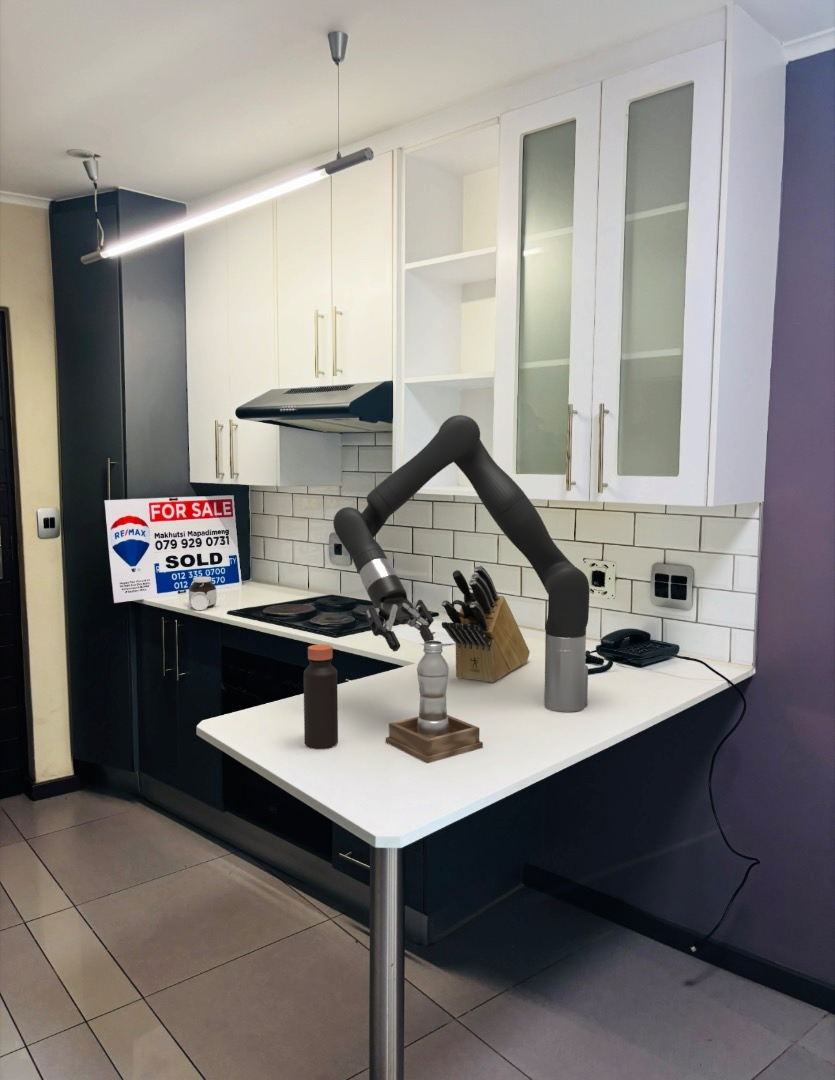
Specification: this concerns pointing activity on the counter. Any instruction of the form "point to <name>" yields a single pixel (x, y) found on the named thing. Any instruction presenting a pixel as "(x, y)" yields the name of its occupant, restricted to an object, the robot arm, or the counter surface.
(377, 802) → the counter surface
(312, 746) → the vinegar
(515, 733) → the counter surface
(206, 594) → the spread jar
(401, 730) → the square wooden tray
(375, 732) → the counter surface
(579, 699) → the robot arm
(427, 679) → the silver metal bottle
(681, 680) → the counter surface
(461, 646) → the knife block
